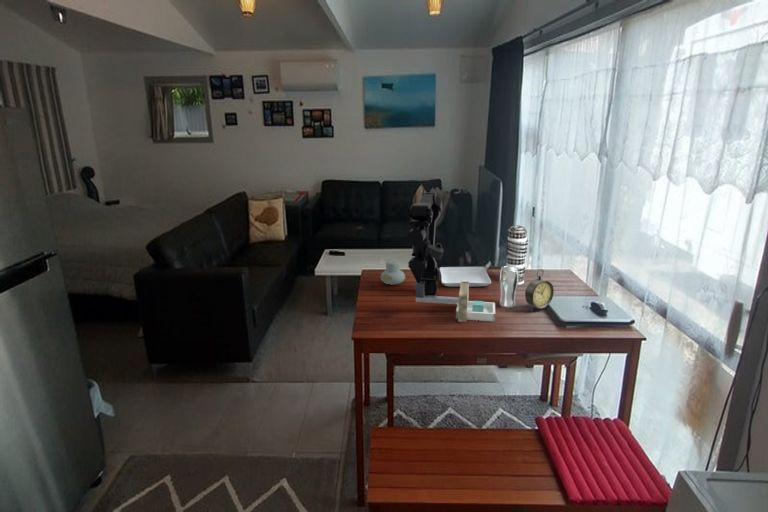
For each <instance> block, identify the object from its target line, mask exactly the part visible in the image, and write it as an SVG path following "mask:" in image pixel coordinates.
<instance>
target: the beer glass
mask: <svg viewBox="0 0 768 512" xmlns="http://www.w3.org/2000/svg"><path fill="white" fill-rule="evenodd" d="M518 270H519V269H518V268H517V267H513V266H506V265H504V266H501V268H500V272H499V274H500V275H499V286H500V287H499V288H500V300H499V306H501V307H502V308H508V309H511V308H514V307H516V293H517V289H518V286H519V285H518V279H519V272H518Z"/></svg>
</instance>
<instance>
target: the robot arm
mask: <svg viewBox="0 0 768 512" xmlns="http://www.w3.org/2000/svg"><path fill="white" fill-rule="evenodd" d="M421 196H422V197H421V198H420V200H419V202H417V203H413V204H412V205H411V207H410V208H409V211H408V220H407V226H411V230H410V231H409V232H408V233H407V236H406V240H407V242H408V244H409V245H410V246H411V247H412V253H411V258H410V259H409V260H408V266H407V267H408V268H409V269H410V272H411V273H412V275H413V278H414V279H415V283H416V282H417V283H420V281H425V288H424V295H427V296H437V293H438V282H439V281H441V273H440V269H439V267H438V263H437V261H436V260H438V261H441V259H442V257H443V254H444V251H445V250H444V248H443V247H442V244H441V243H439V242H438V243H435V242H436V230H437V228H436V227H437V222H438V220H439V219H440V217H441V213H443V201H442V198H440V197H439V196H438V195H437V193H436V192H429V191H426V192H422V195H421Z"/></svg>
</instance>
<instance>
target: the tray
mask: <svg viewBox="0 0 768 512" xmlns="http://www.w3.org/2000/svg"><path fill="white" fill-rule="evenodd" d="M473 301H474V300H468V303H467V321H478V320H479V321H481V322H493V323H494V322H495V321H496V303H495V302H489V301H484V309H483V312H472V307H473ZM458 311H459V304H456V309H455V319H456V320H458Z"/></svg>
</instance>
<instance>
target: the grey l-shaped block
mask: <svg viewBox="0 0 768 512" xmlns="http://www.w3.org/2000/svg"><path fill="white" fill-rule="evenodd" d="M424 288H425V281H420V283H417V282H416V281H415V302H416V303H432V304H445V305H446V304H447V305H457V304H459V296H458V297H456V296H441V295H435V296H427V295H424Z"/></svg>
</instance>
